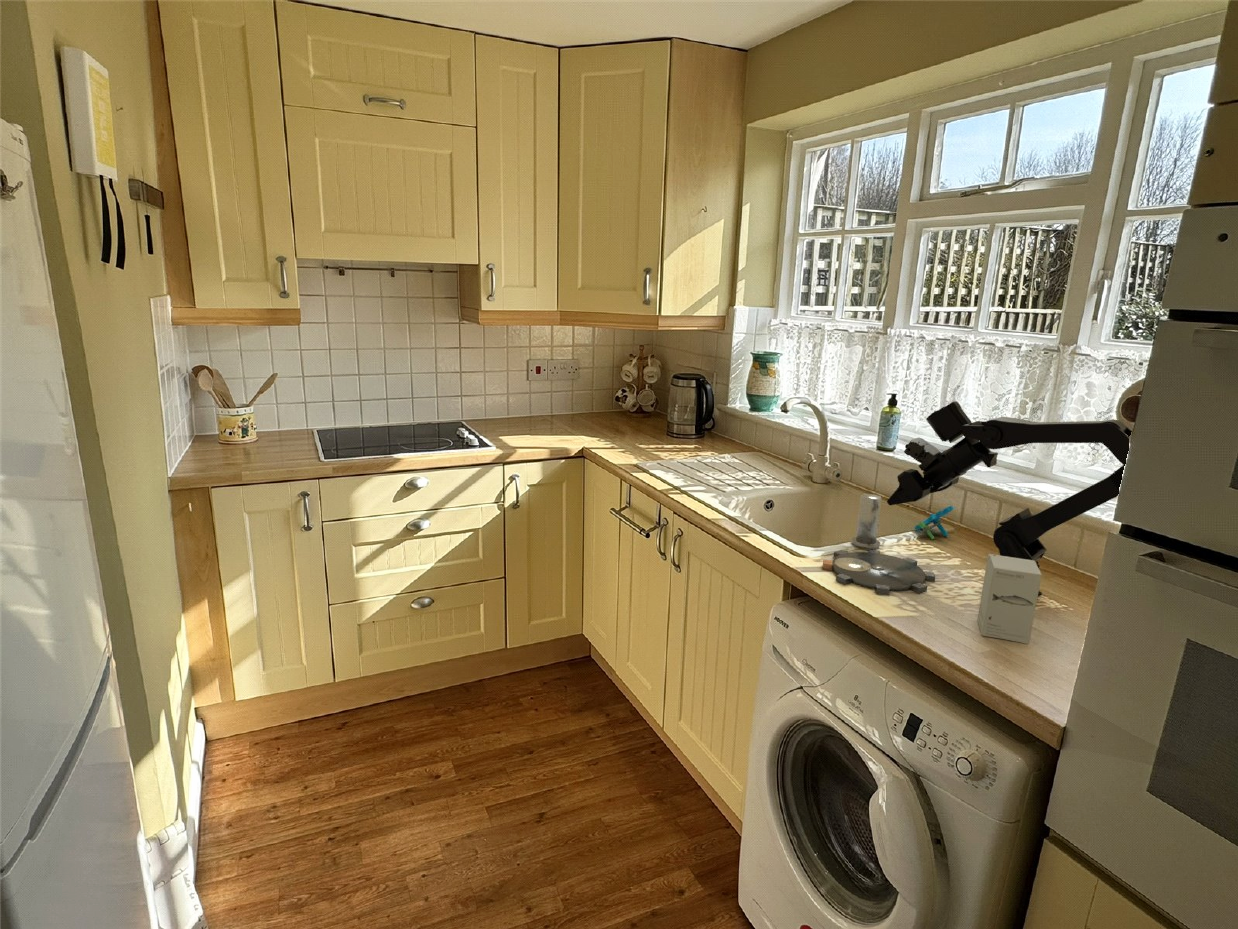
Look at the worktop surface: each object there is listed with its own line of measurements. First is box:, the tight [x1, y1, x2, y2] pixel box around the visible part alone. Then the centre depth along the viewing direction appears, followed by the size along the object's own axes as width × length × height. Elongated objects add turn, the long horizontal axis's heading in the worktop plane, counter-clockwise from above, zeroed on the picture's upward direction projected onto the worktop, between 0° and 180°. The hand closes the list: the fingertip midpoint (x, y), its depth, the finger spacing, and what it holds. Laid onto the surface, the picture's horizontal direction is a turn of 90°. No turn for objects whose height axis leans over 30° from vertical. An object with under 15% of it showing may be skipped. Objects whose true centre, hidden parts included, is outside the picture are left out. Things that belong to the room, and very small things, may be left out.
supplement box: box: [976, 553, 1043, 645], centre depth 123 cm, size 7×7×13 cm
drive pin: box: [851, 493, 882, 551], centre depth 164 cm, size 6×6×12 cm
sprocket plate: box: [822, 549, 936, 596], centre depth 149 cm, size 22×22×1 cm
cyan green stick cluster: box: [914, 505, 955, 540], centre depth 173 cm, size 11×6×10 cm
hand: (898, 499), depth 158 cm, fingers open, 9 cm apart
